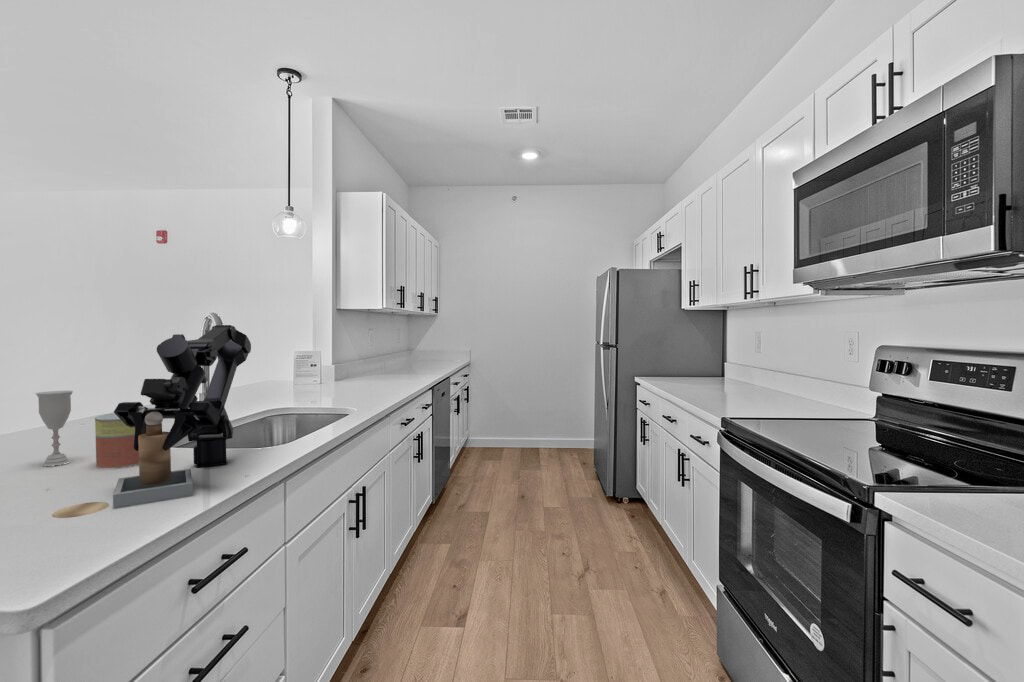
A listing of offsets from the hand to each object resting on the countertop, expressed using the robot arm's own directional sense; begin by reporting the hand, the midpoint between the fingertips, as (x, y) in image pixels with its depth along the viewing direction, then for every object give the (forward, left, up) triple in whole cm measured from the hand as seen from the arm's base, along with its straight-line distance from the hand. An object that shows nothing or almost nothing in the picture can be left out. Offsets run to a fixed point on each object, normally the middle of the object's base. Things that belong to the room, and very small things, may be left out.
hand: (150, 449), depth 99 cm
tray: (-1, -1, -10) cm, 10 cm away
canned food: (+6, -37, -10) cm, 38 cm away
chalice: (+20, -45, -10) cm, 50 cm away
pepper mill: (-1, -1, -7) cm, 7 cm away
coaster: (+10, +2, -10) cm, 14 cm away
